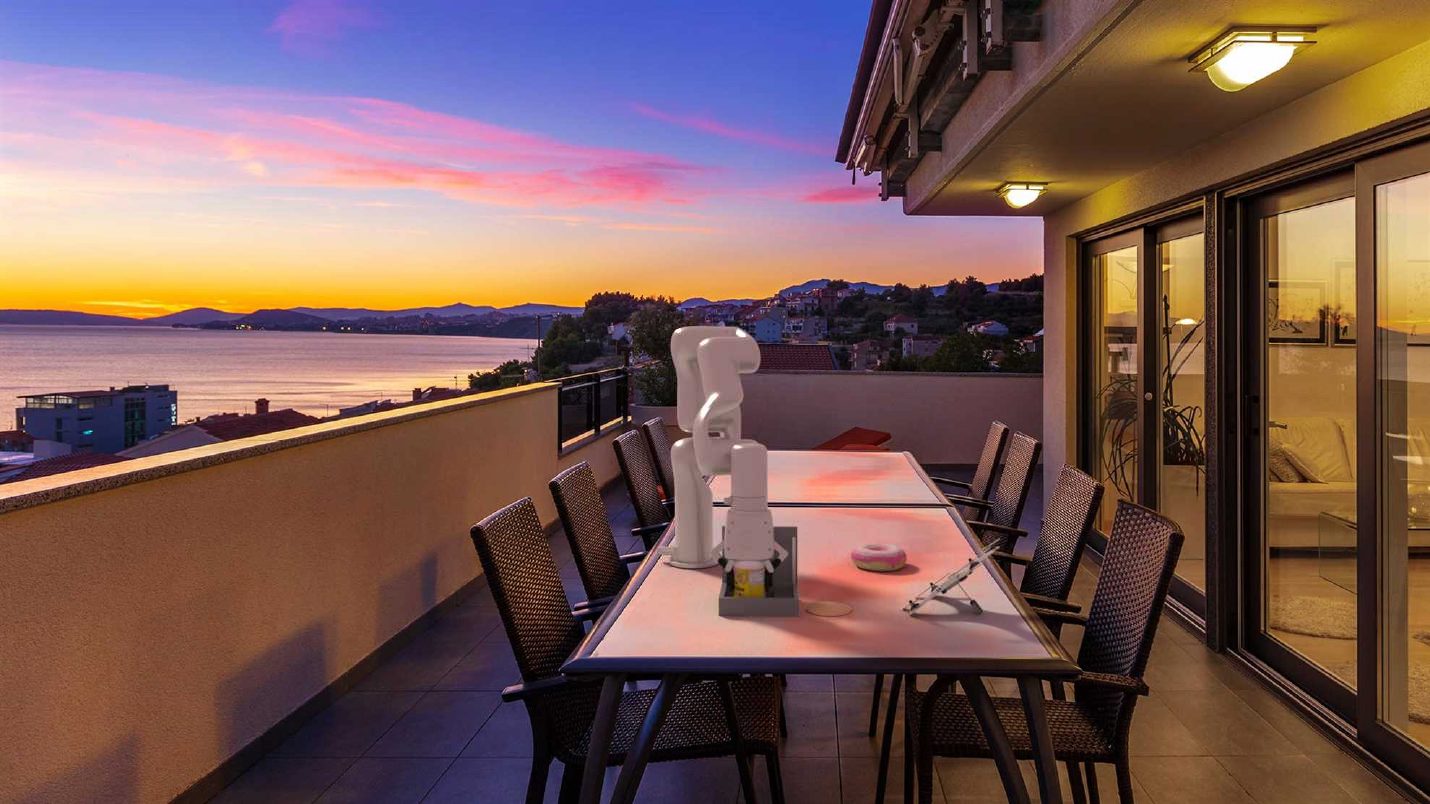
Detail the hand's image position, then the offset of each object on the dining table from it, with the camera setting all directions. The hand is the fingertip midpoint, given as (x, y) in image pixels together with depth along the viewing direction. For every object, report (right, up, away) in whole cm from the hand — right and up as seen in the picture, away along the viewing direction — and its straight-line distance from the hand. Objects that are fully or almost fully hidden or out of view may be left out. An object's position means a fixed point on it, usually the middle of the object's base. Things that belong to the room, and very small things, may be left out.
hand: (749, 589), depth 171 cm
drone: (+41, -4, -2) cm, 41 cm away
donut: (+33, -2, +34) cm, 48 cm away
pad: (+16, -4, -2) cm, 16 cm away
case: (+2, -4, 0) cm, 4 cm away
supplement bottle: (0, -4, 0) cm, 4 cm away
